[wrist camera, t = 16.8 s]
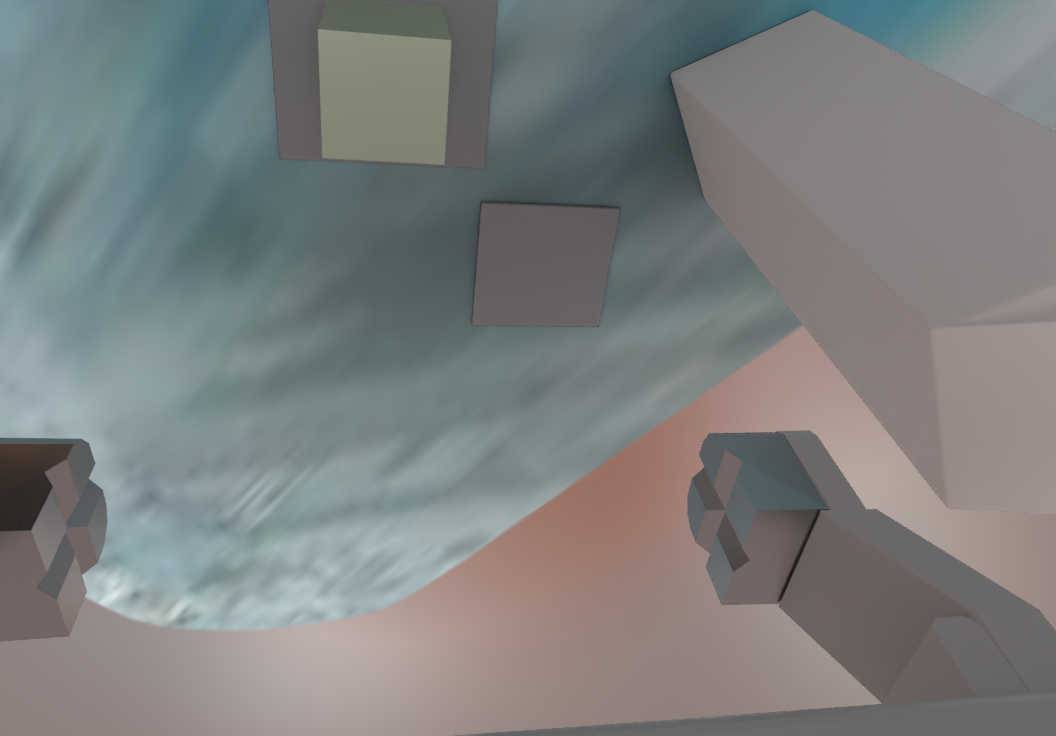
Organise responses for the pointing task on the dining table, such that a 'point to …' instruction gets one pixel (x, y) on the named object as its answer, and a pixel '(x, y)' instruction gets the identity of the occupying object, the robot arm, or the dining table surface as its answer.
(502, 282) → the grey square coaster
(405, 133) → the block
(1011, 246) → the milk
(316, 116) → the thin grey square tile
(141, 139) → the dining table surface
